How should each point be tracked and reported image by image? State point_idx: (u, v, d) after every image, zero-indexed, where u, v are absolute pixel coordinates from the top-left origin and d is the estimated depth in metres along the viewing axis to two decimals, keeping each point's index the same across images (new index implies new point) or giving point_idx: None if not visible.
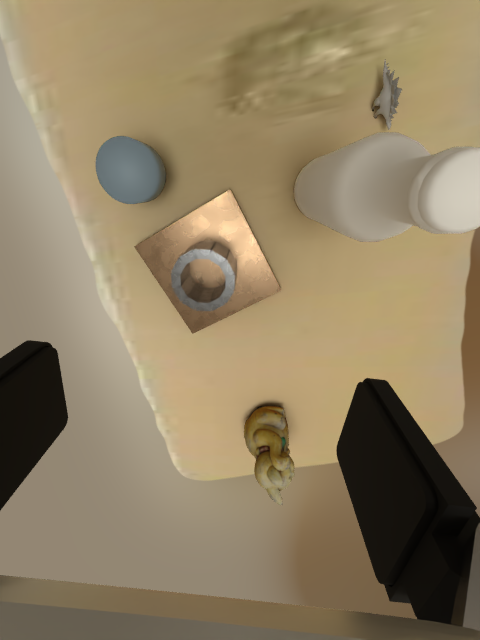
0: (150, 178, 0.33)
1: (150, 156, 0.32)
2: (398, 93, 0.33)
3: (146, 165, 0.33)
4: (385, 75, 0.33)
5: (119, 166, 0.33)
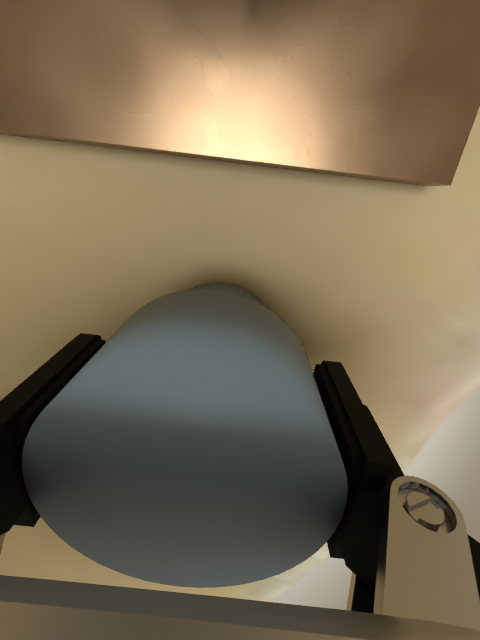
0: (82, 423, 0.06)
1: (29, 480, 0.06)
2: None
3: (69, 468, 0.06)
4: None
5: (197, 523, 0.07)
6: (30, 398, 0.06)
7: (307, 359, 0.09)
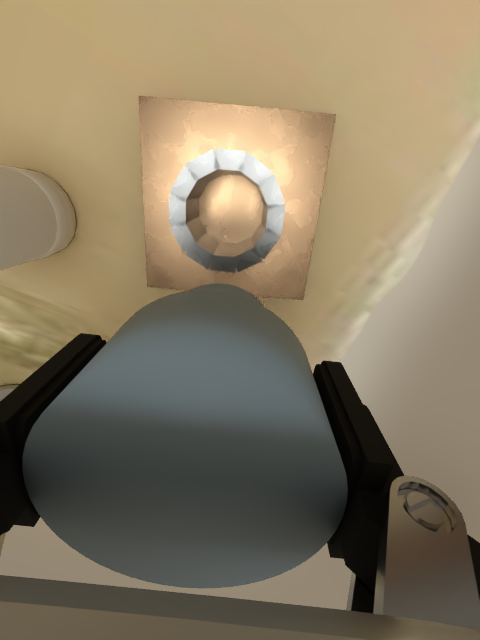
0: (83, 424, 0.06)
1: (29, 481, 0.06)
2: None
3: (69, 469, 0.06)
4: None
5: (197, 524, 0.07)
6: (30, 398, 0.06)
7: (307, 360, 0.09)
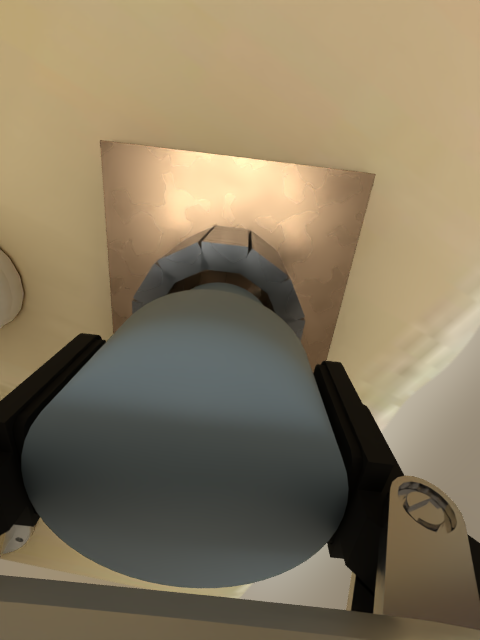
0: (81, 423, 0.05)
1: (28, 480, 0.06)
2: None
3: (68, 468, 0.06)
4: None
5: (197, 524, 0.07)
6: (30, 398, 0.06)
7: (307, 359, 0.09)
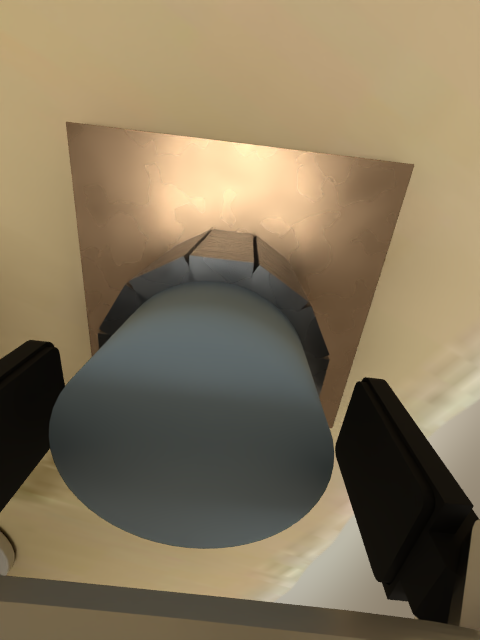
0: (102, 393, 0.06)
1: (54, 445, 0.07)
2: None
3: (90, 434, 0.07)
4: None
5: (201, 486, 0.07)
6: None
7: (301, 345, 0.10)
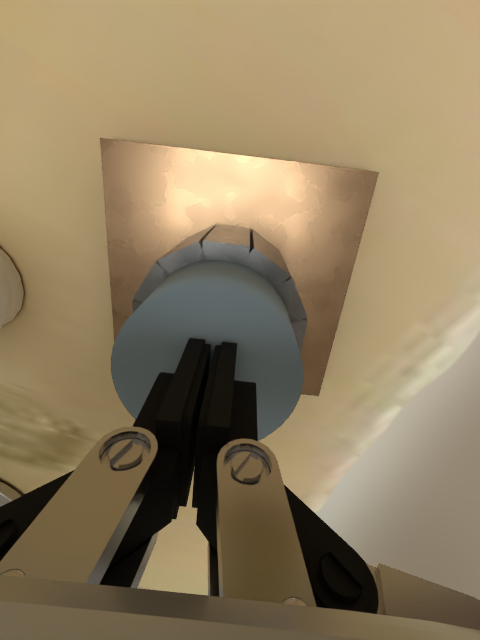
0: (150, 325, 0.10)
1: (114, 366, 0.10)
2: None
3: (139, 357, 0.10)
4: None
5: None
6: (186, 399, 0.07)
7: (285, 307, 0.13)
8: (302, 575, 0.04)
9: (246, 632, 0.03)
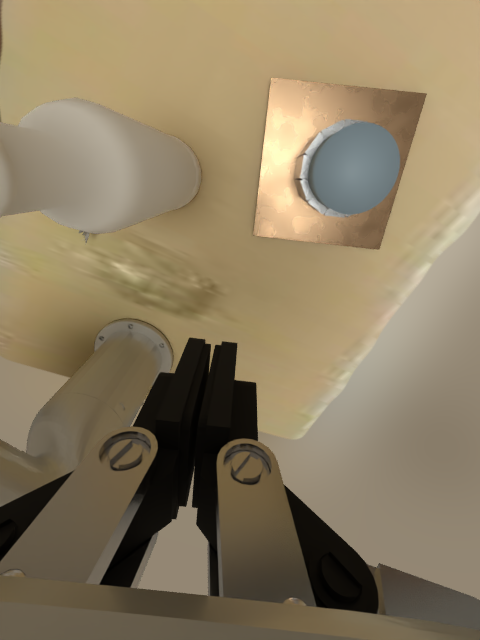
0: (338, 142, 0.24)
1: (317, 165, 0.25)
2: None
3: (329, 159, 0.24)
4: (87, 232, 0.38)
5: (357, 181, 0.25)
6: (186, 399, 0.07)
7: None
8: (302, 575, 0.04)
9: (246, 632, 0.03)
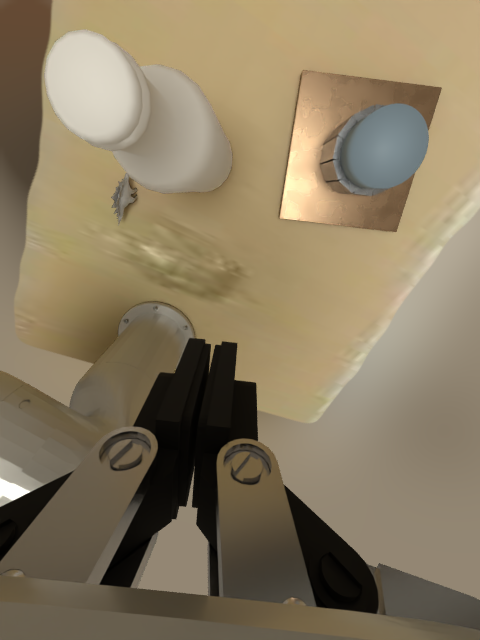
0: (374, 121, 0.26)
1: (354, 142, 0.27)
2: (114, 196, 0.37)
3: (366, 137, 0.27)
4: (120, 214, 0.40)
5: (390, 157, 0.28)
6: (186, 399, 0.07)
7: None
8: (302, 575, 0.04)
9: (246, 632, 0.03)
